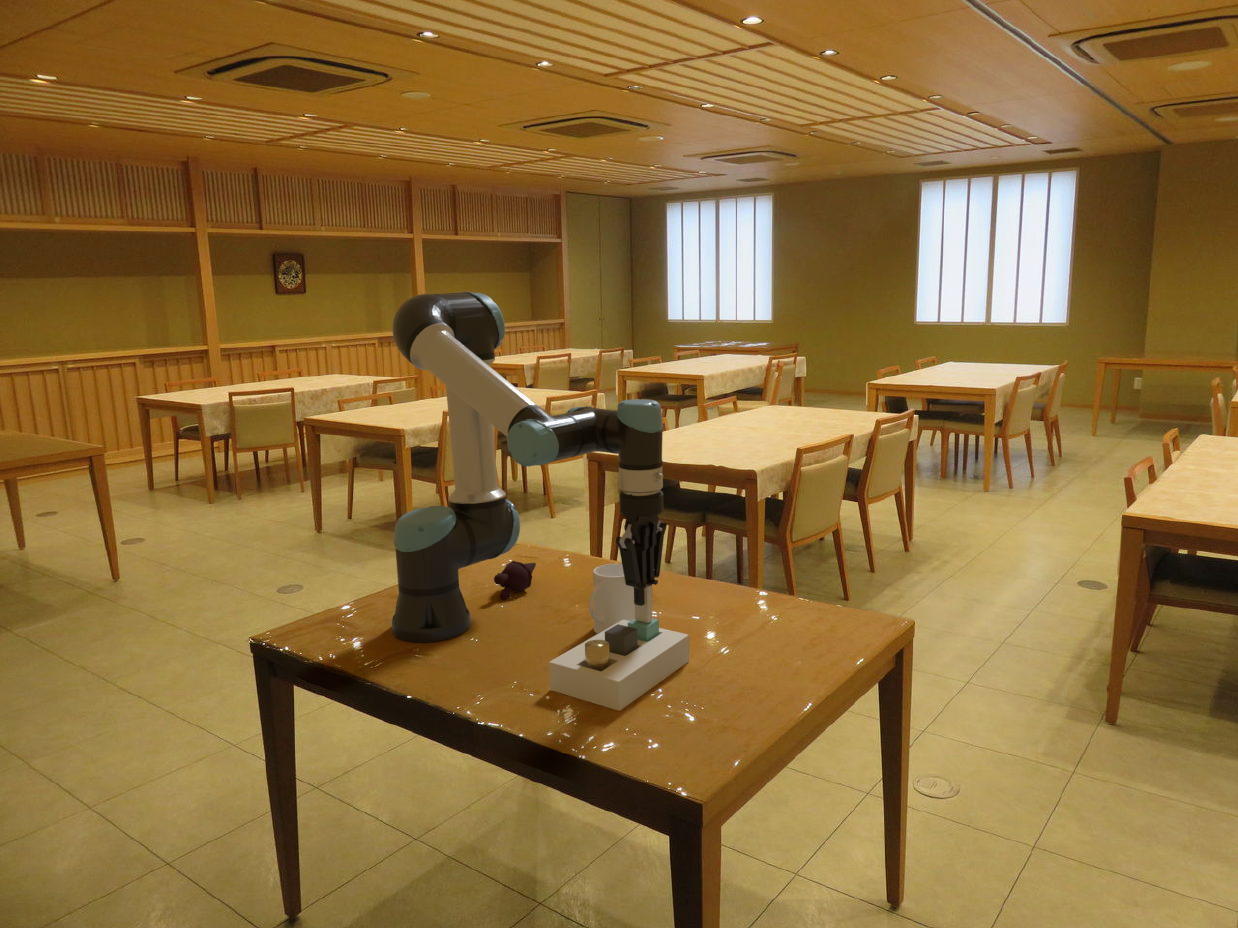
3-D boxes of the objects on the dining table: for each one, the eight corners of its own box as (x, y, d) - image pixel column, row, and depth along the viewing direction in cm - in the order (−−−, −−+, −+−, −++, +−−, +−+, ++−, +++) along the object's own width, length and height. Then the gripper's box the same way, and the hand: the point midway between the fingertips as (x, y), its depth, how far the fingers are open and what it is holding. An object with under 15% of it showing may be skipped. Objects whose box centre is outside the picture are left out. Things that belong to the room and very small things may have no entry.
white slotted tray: (550, 689, 150) (549, 661, 149) (623, 644, 168) (623, 619, 167) (619, 710, 143) (618, 681, 142) (689, 661, 160) (689, 634, 159)
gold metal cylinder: (580, 671, 149) (580, 645, 148) (595, 662, 152) (594, 637, 151) (600, 677, 146) (599, 651, 145) (614, 668, 150) (614, 642, 149)
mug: (604, 646, 168) (603, 584, 165) (572, 634, 173) (570, 575, 171) (646, 627, 176) (645, 568, 174) (614, 617, 182) (612, 560, 179)
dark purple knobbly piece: (517, 551, 206) (479, 576, 193) (543, 547, 202) (506, 572, 189) (526, 579, 207) (489, 606, 194) (552, 575, 203) (516, 603, 190)
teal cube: (628, 646, 160) (627, 622, 159) (640, 638, 163) (639, 615, 162) (647, 651, 158) (646, 627, 157) (659, 643, 161) (658, 619, 160)
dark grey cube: (605, 656, 154) (604, 631, 153) (618, 648, 157) (617, 624, 157) (624, 661, 152) (624, 636, 151) (637, 653, 155) (637, 628, 154)
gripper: (638, 501, 147) (641, 636, 152) (679, 485, 158) (680, 612, 163) (601, 495, 152) (605, 628, 156) (643, 480, 162) (645, 604, 167)
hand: (643, 620), depth 159 cm, fingers closed
